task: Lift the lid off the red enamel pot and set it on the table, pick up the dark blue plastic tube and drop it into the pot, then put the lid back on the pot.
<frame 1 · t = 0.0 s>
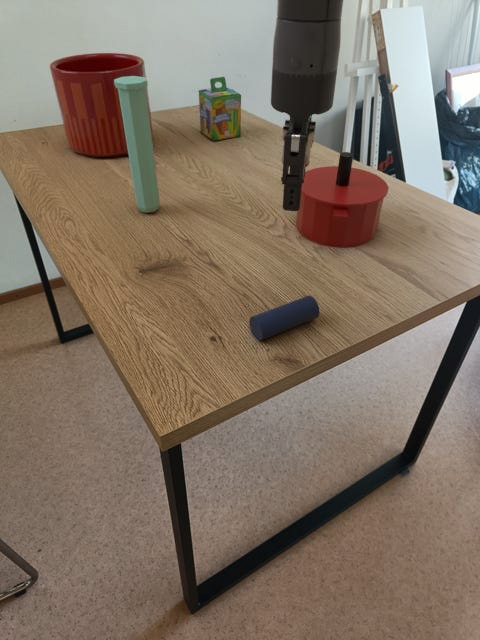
hand: (293, 195, 63), 17 cm above the table, tool pointing down, fingers open, 8 cm apart
tube: (284, 326, 67), on the table
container: (149, 211, 96), on the table
pot: (335, 226, 90), on the table
planter: (112, 144, 126), on the table
chalk box: (220, 135, 132), on the table
pot lid: (341, 186, 85), point 8 cm above the table, touching pot
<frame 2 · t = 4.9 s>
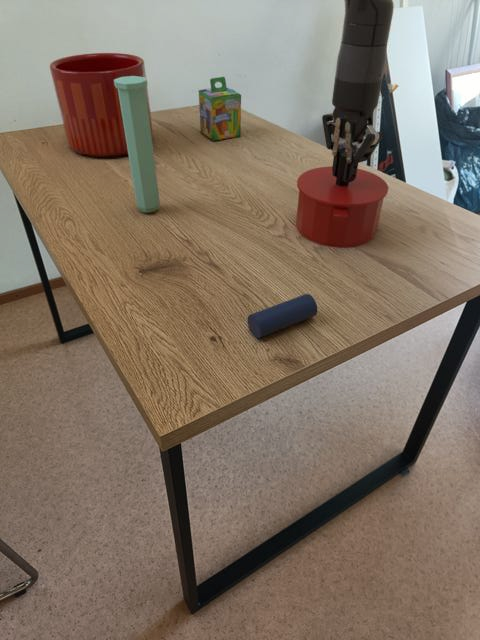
hand: (342, 178, 84), 10 cm above the table, tool pointing down, fingers closed on pot lid, 2 cm apart
tube: (284, 326, 67), on the table, tilted 17°
pot lid: (341, 186, 85), point 9 cm above the table, touching gripper, pot
everything else where it was.
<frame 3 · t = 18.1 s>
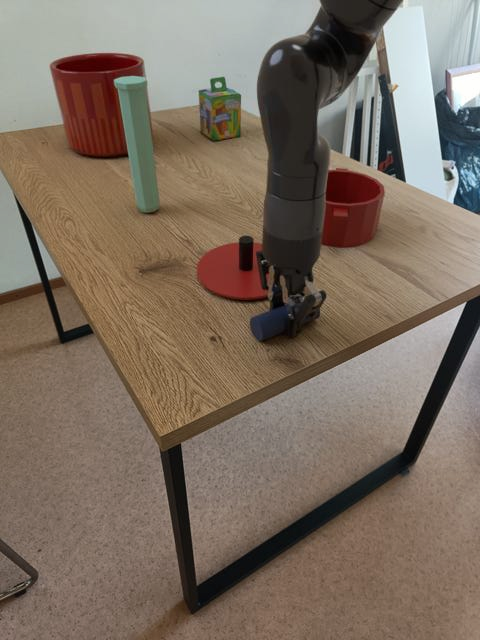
hand: (284, 326, 67), 0 cm above the table, tool pointing down, fingers closed on tube, 3 cm apart
tube: (283, 326, 67), on the table, touching gripper
pot lid: (245, 269, 78), point 1 cm above the table
everything else where it was.
when the fingers open (6 cm above the table, at t = 26.4 s): tube drops 5 cm, resting on pot.
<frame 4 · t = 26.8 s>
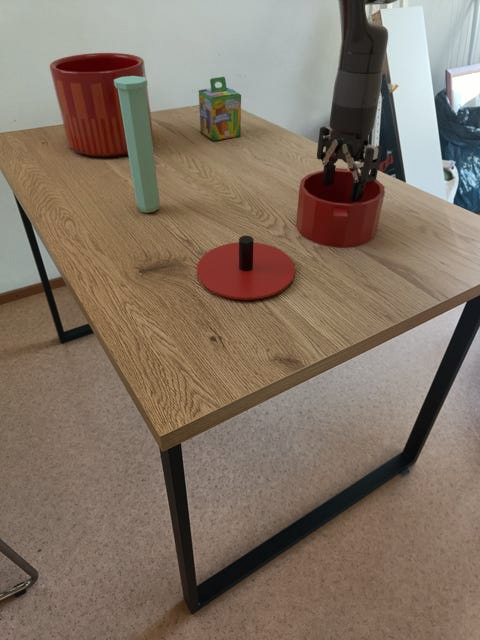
hand: (341, 192, 85), 7 cm above the table, tool pointing down, fingers open, 7 cm apart
tube: (335, 224, 90), point 1 cm above the table, tilted 12°, touching pot
everything else where it was.
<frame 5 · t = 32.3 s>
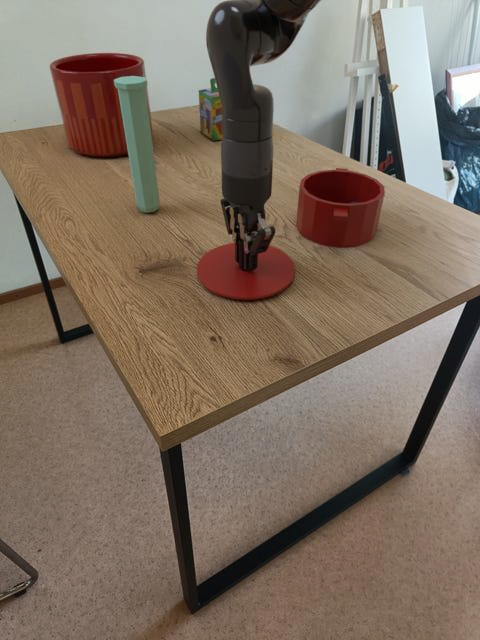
hand: (245, 264, 77), 2 cm above the table, tool pointing down, fingers closed on pot lid, 2 cm apart
tube: (335, 224, 90), point 1 cm above the table, touching pot
pot lid: (245, 269, 78), point 1 cm above the table, touching gripper
everything else where it was.
when the fingers open (9 cm above the table, at t = 39.5 s): pot lid stays where it is, resting on pot.
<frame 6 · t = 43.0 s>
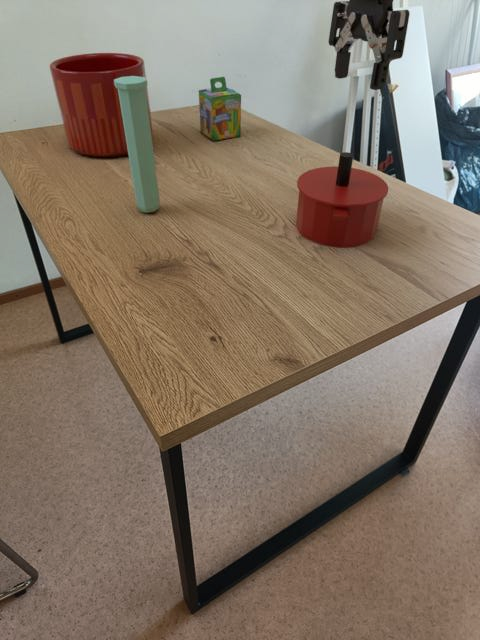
hand: (357, 83, 73), 26 cm above the table, tool pointing down, fingers open, 8 cm apart
tube: (332, 213, 89), point 2 cm above the table, tilted 94°, touching pot
pot lid: (341, 186, 85), point 8 cm above the table, touching pot
everything else where it was.
at the end: tube inside the target area in the pot (1.3 cm from its centre), point 2.4 cm above the pot's base; pot lid 0.1 cm off-centre on the pot, point 8.5 cm above the pot's base; pot lid tilted 0° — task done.
